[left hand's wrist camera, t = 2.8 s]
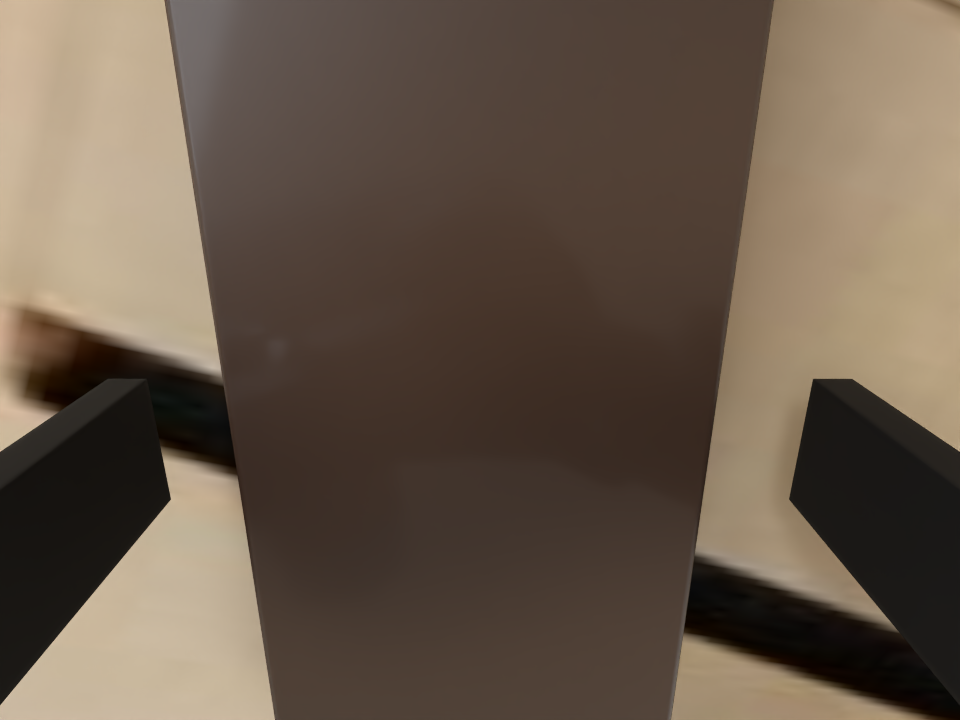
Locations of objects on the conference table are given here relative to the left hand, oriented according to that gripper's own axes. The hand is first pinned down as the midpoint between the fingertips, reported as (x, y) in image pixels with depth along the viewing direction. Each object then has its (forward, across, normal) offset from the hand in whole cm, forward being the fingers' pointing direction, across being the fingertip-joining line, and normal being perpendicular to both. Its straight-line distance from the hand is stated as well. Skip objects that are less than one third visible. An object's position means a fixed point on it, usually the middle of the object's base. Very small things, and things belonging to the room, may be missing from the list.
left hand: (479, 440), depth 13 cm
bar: (+2, 0, -8) cm, 9 cm away
